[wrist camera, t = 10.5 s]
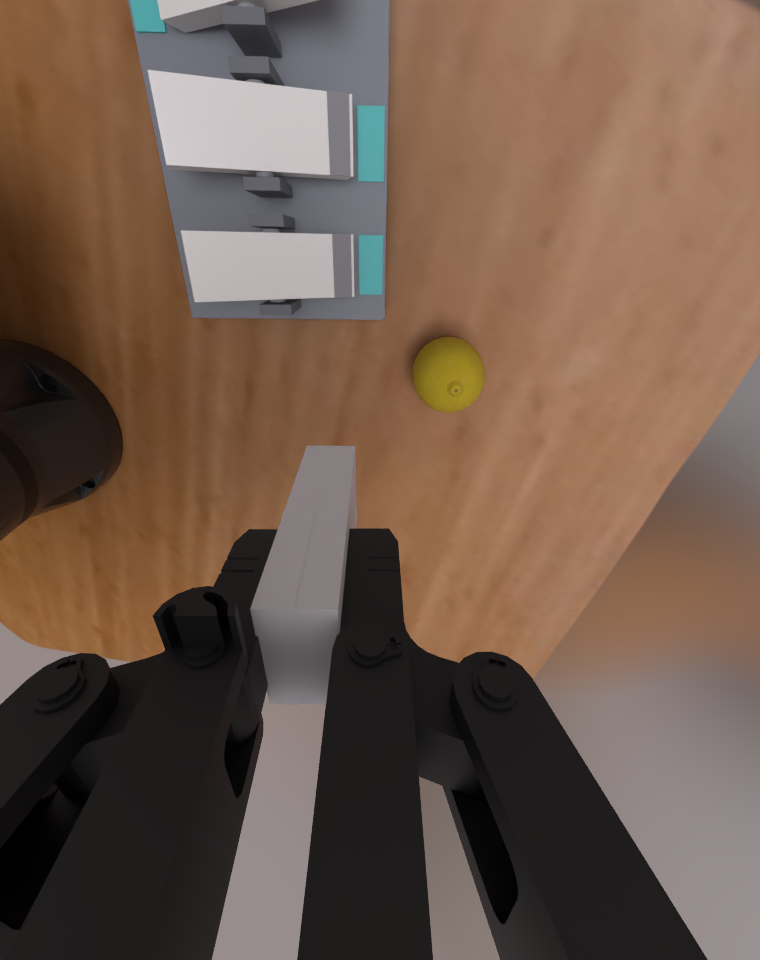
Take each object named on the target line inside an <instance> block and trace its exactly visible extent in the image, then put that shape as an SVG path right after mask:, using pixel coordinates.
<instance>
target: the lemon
mask: <svg viewBox="0 0 760 960" xmlns="http://www.w3.org/2000/svg"><path fill="white" fill-rule="evenodd" d="M484 380H485V371H484V365H483V362H482V359H481V357H480V355H479V353H478V352H477V350H476V349H475V348H474V347H473V346H472V345H470V344H469V343H468V342H466V341H464V340H462V339H460V338H456V337H441V338H438V339H435V340H432V341H431V342H429V343H428V344H426V345H425V346H424V347H423V348H422V349H421V351H420V352H419V353H418V355H417V357H416V359H415V361H414V365H413V369H412V381H413V384H414V388H415V391H416V392H417V394H418V396H419V398H420V399H421V400H422V401H423V402H424V403H425V404H426V405H427V406H429V407H431V408H433V409H434V410H437V411H441V412H451V413H452V412H457V411H460V410H463V409H465V408H467V407H468V406H470V405H471V404H472V403H473V402H474V401H475V400H476V399H477V397H478V396H479V395H480V393H481V390H482V388H483V384H484Z"/></svg>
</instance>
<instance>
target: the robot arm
mask: <svg viewBox="0 0 760 960" xmlns="http://www.w3.org/2000/svg"><path fill="white" fill-rule="evenodd" d="M121 454H122V439H121V433H120V429H119V425H118V423H117V420H116V418H115V415H114V413H113V411H112V409H111V408H110V406H109V404H108V403H107V401H106V400H105V398H104V397H103V396H102V394H101V393H100V392H99V390H98V389H97V388H96V387H95V386H94V385H93V384H92V383H91V382H90V381H89V380H88V379H87V378H86V377H85V376H84V375H83V374H82V373H80V372H79V371H78V370H77V369H75V368H74V367H73V366H71V365H70V364H68V363H67V362H65V361H64V360H62V359H61V358H59V357H57V356H55V355H53V354H51V353H49V352H47V351H45V350H43V349H40V348H38V347H35V346H32V345H29V344H25V343H21V342H16V341H9V340H0V540H2V539H3V538H4V537H5V536H6V535H8V534H9V533H10V532H11V531H13V530H14V529H15V528H16V527H17V526H19V525H20V524H21V523H23V522H24V521H25V520H27V519H28V518H30V517H33V516H36V515H38V514H41V513H44V512H47V511H50V510H53V509H56V508H59V507H62V506H65V505H68V504H70V503H73V502H76V501H79V500H81V499H83V498H85V497H87V496H89V495H90V494H92V493H93V492H95V491H96V490H97V489H98V488H99V487H101V486H102V485H103V484H104V483H105V482H106V481H108V480H109V479H110V478H111V476H112V475H113V474H114V472H115V471H116V469H117V467H118V465H119V462H120V459H121ZM356 521H357V508H356V460H355V446H307V447H306V450H305V452H304V455H303V458H302V461H301V464H300V467H299V470H298V473H297V475H296V478H295V481H294V484H293V487H292V490H291V493H290V496H289V499H288V501H287V504H286V507H285V510H284V513H283V516H282V519H281V522H280V524H279V527H278V530H272V529H249V530H248V531H247V532H246V533H244V534H243V535H242V536H241V537H240V538H239V539H238V540H237V541H236V542H235V543H234V545H233V547H232V549H231V551H230V553H229V555H228V557H227V561H225V563H224V566H223V568H222V570H221V573H220V574H219V576H218V578H217V580H216V582H215V584H214V587H211V586H206V587H198V588H192V589H189V590H187V591H184V592H182V593H179V594H177V595H175V596H174V597H172V598H171V599H169V600H168V601H166V602H165V603H163V604H162V605H161V607H160V608H159V609H158V610H157V611H156V612H155V614H154V615H153V618H154V620H155V623H156V626H157V628H158V631H159V634H160V636H161V639H162V642H163V644H164V647H165V651H164V652H162V653H160V654H158V655H155V656H152V657H149V658H146V659H142V660H139V661H135V662H131V663H127V664H124V665H120V666H117V667H113V668H110V667H109V665H108V663H107V661H106V659H104V658H102V657H100V656H98V655H97V654H87V653H80V654H76V655H72V656H68V657H64V658H61V659H59V660H57V661H55V662H53V663H51V664H49V665H47V666H45V667H43V668H42V669H41V670H39V671H38V672H37V673H35V674H34V675H33V676H32V677H30V678H29V679H28V680H26V681H25V682H24V683H23V684H22V685H21V686H20V687H19V688H18V689H17V690H16V691H15V692H14V693H12V695H10V696H9V697H8V698H7V699H6V700H5V701H4V702H3V703H2V704H1V705H0V960H212V955H213V951H214V947H215V942H216V938H217V934H218V929H219V925H220V921H221V916H222V912H223V907H224V903H225V898H226V894H227V890H228V886H229V881H230V877H231V872H232V868H233V864H234V859H235V855H236V851H237V846H238V842H239V837H240V833H241V829H242V824H243V820H244V816H245V811H246V807H247V803H248V798H249V794H250V789H251V785H252V781H253V776H254V772H255V768H256V763H257V758H258V754H259V750H260V746H261V741H262V737H263V718H262V714H261V711H262V707H263V703H264V699H265V695H266V691H267V693H268V698H269V703H270V704H326V710H325V718H324V727H323V737H322V745H321V754H320V763H319V772H318V780H317V790H316V798H315V807H314V817H313V825H312V834H311V843H310V852H309V861H308V871H307V878H306V888H305V896H304V905H303V914H302V924H301V932H300V941H299V950H298V959H297V960H433V955H432V942H431V929H430V916H429V903H428V890H427V877H426V866H425V865H426V864H425V851H424V838H423V826H422V814H421V801H420V787H419V777H422V778H425V779H427V780H430V781H432V782H435V783H437V784H440V785H442V786H443V789H444V792H445V795H446V798H447V801H448V804H449V807H450V810H451V813H452V816H453V819H454V822H455V825H456V828H457V831H458V834H459V837H460V840H461V843H462V846H463V849H464V851H465V855H466V857H467V861H468V864H469V867H470V870H471V873H472V876H473V879H474V882H475V885H476V888H477V891H478V894H479V896H480V900H481V903H482V906H483V909H484V912H485V915H486V918H487V921H488V924H489V927H490V929H491V933H492V936H493V939H494V942H495V945H496V948H497V951H498V954H499V957H500V960H707V958H706V957H705V955H704V953H703V952H702V950H701V948H700V947H699V945H698V944H697V942H696V940H695V939H694V938H693V936H692V934H691V933H690V931H689V929H688V928H687V926H686V924H685V923H684V921H683V920H682V918H681V917H680V915H679V913H678V912H677V910H676V909H675V907H674V905H673V904H672V902H671V901H670V899H669V897H668V895H667V894H666V892H665V891H664V889H663V887H662V886H661V885H660V883H659V881H658V879H657V878H656V876H655V875H654V873H653V871H652V870H651V868H650V867H649V865H648V863H647V862H646V860H645V859H644V857H643V855H642V854H641V852H640V851H639V849H638V847H637V846H636V844H635V843H634V841H633V839H632V838H631V836H630V834H629V833H628V831H627V830H626V828H625V826H624V825H623V823H622V822H621V820H620V819H619V817H618V815H617V814H616V812H615V810H614V809H613V807H612V806H611V804H610V802H609V801H608V799H607V798H606V796H605V794H604V793H603V791H602V790H601V788H600V786H599V785H598V783H597V782H596V780H595V778H594V777H593V775H592V773H591V772H590V770H589V769H588V767H587V766H586V764H585V762H584V761H583V759H582V758H581V756H580V754H579V753H578V751H577V749H576V748H575V746H574V745H573V743H572V742H571V740H570V738H569V737H568V735H567V734H566V732H565V730H564V729H563V727H562V725H561V724H560V722H559V721H558V719H557V717H556V716H555V714H554V712H553V711H552V709H551V708H550V706H549V705H548V703H547V701H546V700H545V698H544V696H543V695H542V693H541V692H540V690H539V688H538V687H537V685H536V684H535V682H534V681H533V679H532V677H531V676H530V675H529V674H528V673H527V672H526V671H525V669H524V668H523V667H522V666H521V665H520V664H518V663H517V662H515V661H513V660H512V659H510V658H509V657H507V656H504V655H501V654H497V653H494V652H476V653H474V654H471V655H469V656H467V657H465V658H463V660H462V661H461V662H460V663H457V662H454V661H451V660H447V659H444V658H441V657H438V656H435V655H433V654H430V653H428V652H426V651H425V650H423V649H422V648H420V647H419V646H418V645H417V644H416V643H415V642H414V641H413V640H412V639H411V638H410V636H409V634H408V632H407V631H406V628H405V624H404V616H403V602H402V589H401V575H400V562H399V548H398V541H397V539H396V538H395V537H394V535H393V534H392V532H391V531H390V530H389V529H356Z"/></svg>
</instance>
